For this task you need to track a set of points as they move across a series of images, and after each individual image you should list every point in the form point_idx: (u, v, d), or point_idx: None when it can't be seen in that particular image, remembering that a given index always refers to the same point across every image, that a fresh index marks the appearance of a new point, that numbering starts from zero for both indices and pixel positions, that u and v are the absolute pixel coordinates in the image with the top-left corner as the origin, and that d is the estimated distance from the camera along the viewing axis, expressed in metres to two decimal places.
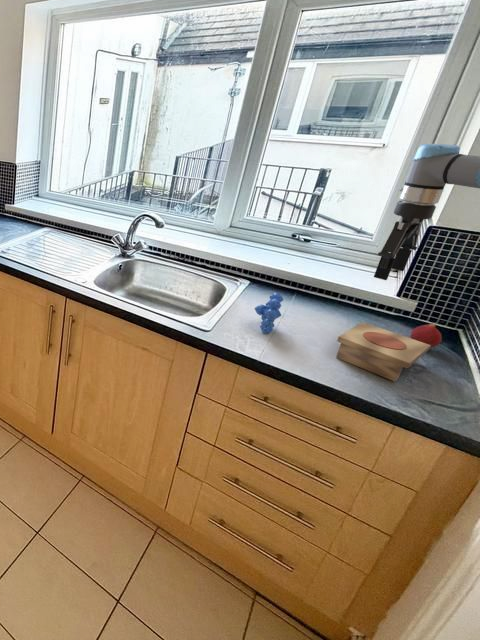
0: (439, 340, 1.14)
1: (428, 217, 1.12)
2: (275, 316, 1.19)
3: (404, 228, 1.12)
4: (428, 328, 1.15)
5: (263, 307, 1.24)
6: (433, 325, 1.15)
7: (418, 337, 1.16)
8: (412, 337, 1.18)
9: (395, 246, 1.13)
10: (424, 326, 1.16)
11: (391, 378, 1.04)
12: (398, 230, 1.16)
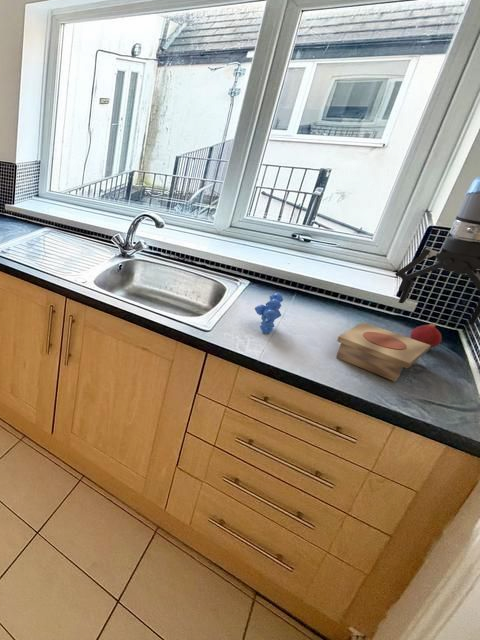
0: (439, 340, 1.14)
1: None
2: (275, 316, 1.19)
3: None
4: (428, 328, 1.15)
5: (263, 307, 1.24)
6: (433, 325, 1.15)
7: (418, 337, 1.16)
8: (412, 337, 1.18)
9: None
10: (424, 326, 1.16)
11: (391, 378, 1.04)
12: None
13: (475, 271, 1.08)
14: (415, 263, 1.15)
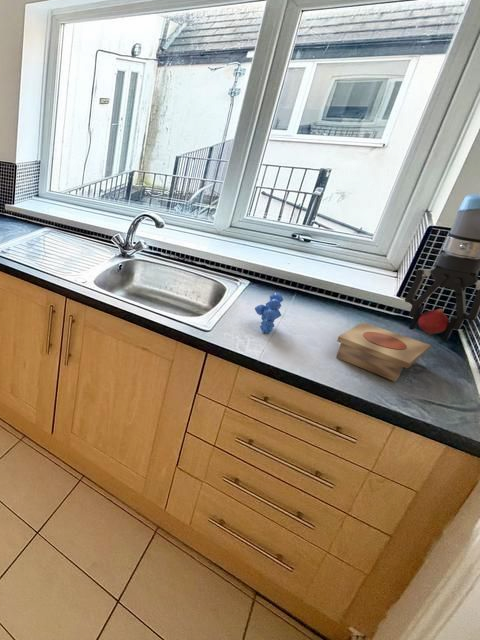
0: (447, 325, 1.12)
1: None
2: (275, 316, 1.19)
3: None
4: (435, 313, 1.13)
5: (263, 307, 1.24)
6: (440, 310, 1.13)
7: (425, 323, 1.14)
8: (419, 323, 1.16)
9: None
10: (431, 311, 1.14)
11: (391, 378, 1.04)
12: (465, 286, 1.08)
13: (463, 288, 1.10)
14: (416, 285, 1.16)
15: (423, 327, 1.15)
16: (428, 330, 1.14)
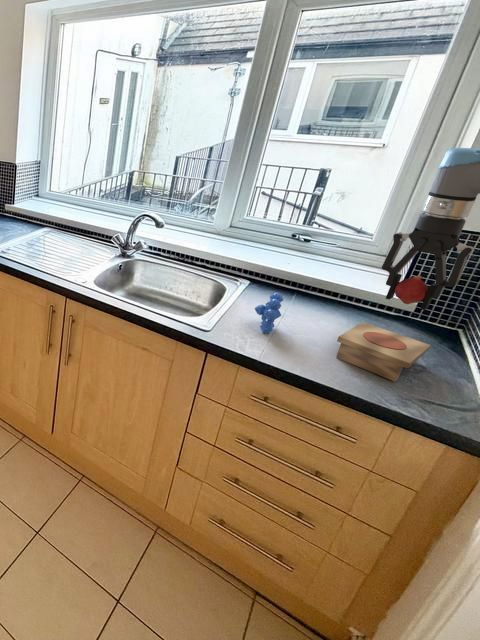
0: (425, 293, 1.03)
1: None
2: (275, 316, 1.19)
3: None
4: (413, 281, 1.04)
5: (263, 307, 1.24)
6: (419, 277, 1.04)
7: (402, 291, 1.05)
8: (396, 292, 1.07)
9: (461, 273, 0.99)
10: (409, 279, 1.05)
11: (391, 378, 1.04)
12: (446, 250, 0.99)
13: (443, 252, 1.01)
14: (394, 251, 1.07)
15: (400, 296, 1.06)
16: (405, 299, 1.05)
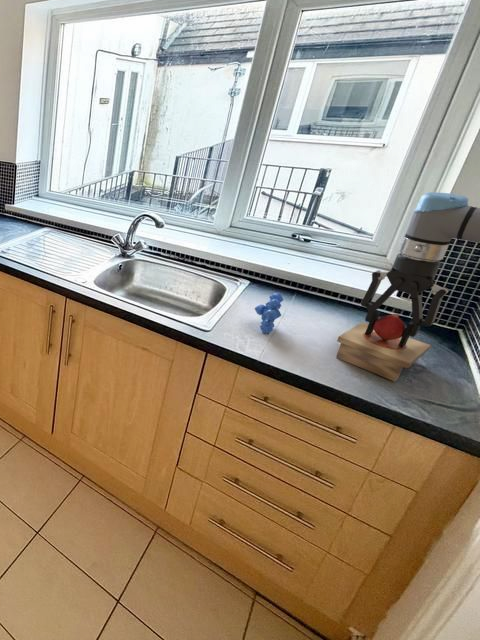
0: (403, 331, 1.06)
1: None
2: (275, 316, 1.19)
3: None
4: (391, 319, 1.07)
5: (263, 307, 1.24)
6: (396, 315, 1.06)
7: (380, 328, 1.08)
8: (375, 328, 1.09)
9: (436, 314, 1.01)
10: (387, 316, 1.08)
11: (391, 378, 1.04)
12: (421, 291, 1.02)
13: (420, 292, 1.03)
14: (372, 289, 1.09)
15: (379, 333, 1.09)
16: (384, 336, 1.08)
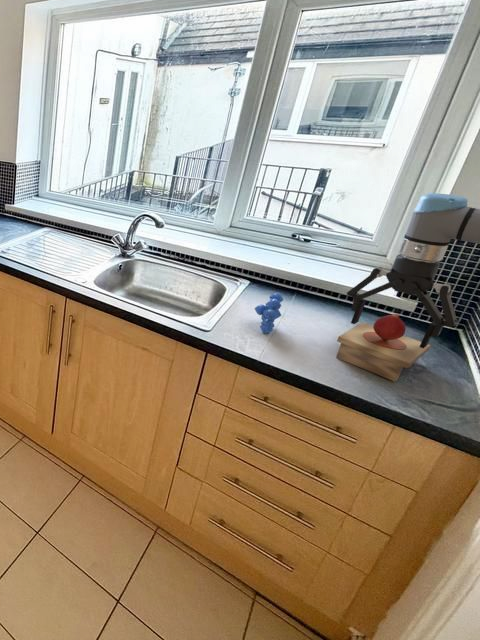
0: (403, 331, 1.06)
1: None
2: (275, 316, 1.19)
3: None
4: (391, 319, 1.07)
5: (263, 307, 1.24)
6: (396, 315, 1.06)
7: (380, 328, 1.08)
8: (375, 328, 1.09)
9: (454, 312, 0.99)
10: (387, 316, 1.08)
11: (391, 378, 1.04)
12: None
13: (425, 292, 1.03)
14: (366, 282, 1.10)
15: (379, 333, 1.09)
16: (384, 336, 1.08)
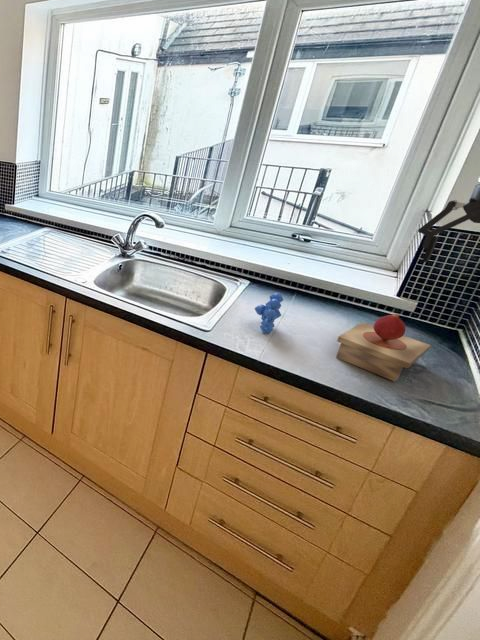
0: (403, 331, 1.06)
1: None
2: (275, 316, 1.19)
3: None
4: (391, 319, 1.07)
5: (263, 307, 1.24)
6: (396, 315, 1.06)
7: (380, 328, 1.08)
8: (375, 328, 1.09)
9: None
10: (387, 316, 1.08)
11: (391, 378, 1.04)
12: None
13: None
14: (440, 217, 1.07)
15: (379, 333, 1.09)
16: (384, 336, 1.08)
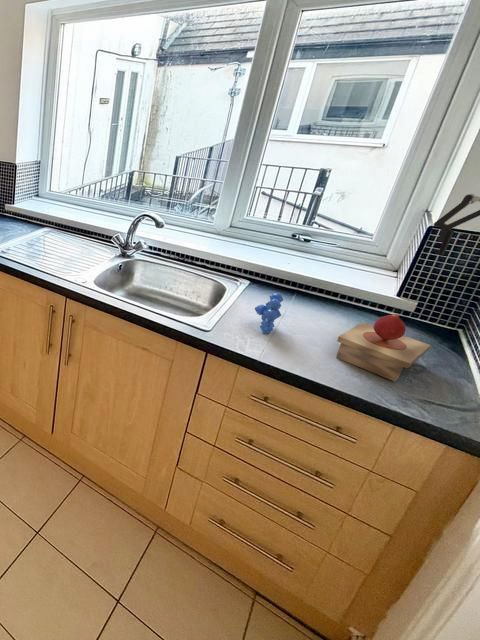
0: (403, 331, 1.06)
1: None
2: (275, 316, 1.19)
3: None
4: (391, 319, 1.07)
5: (263, 307, 1.24)
6: (396, 315, 1.06)
7: (380, 328, 1.08)
8: (375, 328, 1.09)
9: None
10: (387, 316, 1.08)
11: (391, 378, 1.04)
12: None
13: None
14: (456, 211, 1.08)
15: (379, 333, 1.09)
16: (384, 336, 1.08)
